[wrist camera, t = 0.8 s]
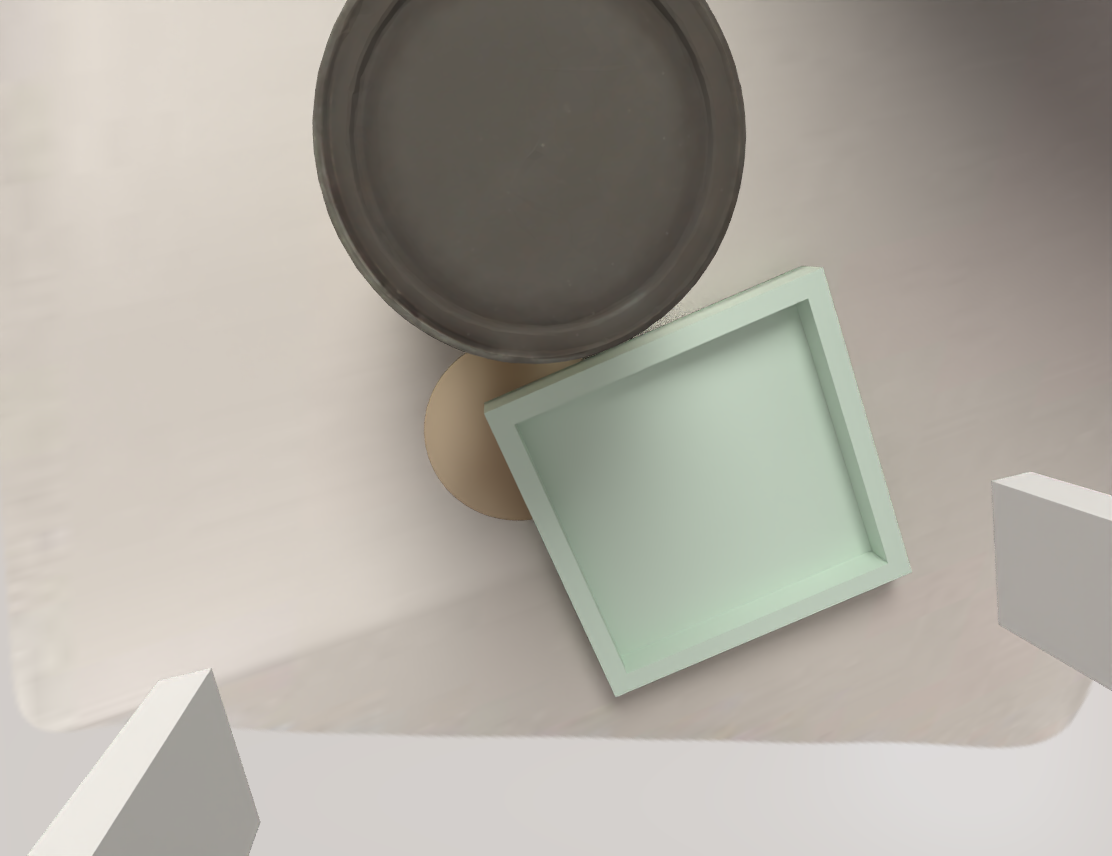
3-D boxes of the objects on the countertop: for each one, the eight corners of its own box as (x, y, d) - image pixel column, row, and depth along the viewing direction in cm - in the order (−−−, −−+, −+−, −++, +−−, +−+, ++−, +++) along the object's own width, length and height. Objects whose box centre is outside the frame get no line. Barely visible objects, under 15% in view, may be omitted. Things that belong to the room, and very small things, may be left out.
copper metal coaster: (570, 304, 32) (572, 305, 31) (639, 473, 34) (641, 476, 34) (392, 381, 32) (391, 383, 31) (473, 543, 34) (472, 548, 34)
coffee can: (434, 19, 28) (383, -194, 14) (666, 117, 30) (816, 10, 16) (363, 266, 30) (260, 284, 16) (583, 343, 32) (654, 417, 18)
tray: (801, 266, 32) (823, 267, 30) (888, 553, 36) (911, 572, 34) (484, 402, 32) (483, 413, 30) (608, 672, 36) (615, 697, 34)
